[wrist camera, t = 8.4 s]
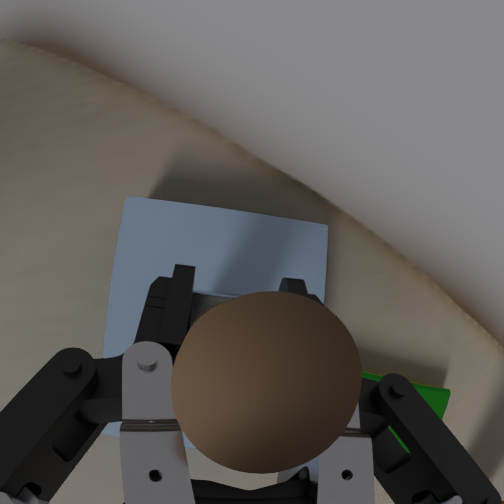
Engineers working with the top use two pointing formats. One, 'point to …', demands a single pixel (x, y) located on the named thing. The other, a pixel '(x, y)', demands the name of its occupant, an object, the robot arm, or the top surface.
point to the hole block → (205, 260)
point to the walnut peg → (265, 381)
